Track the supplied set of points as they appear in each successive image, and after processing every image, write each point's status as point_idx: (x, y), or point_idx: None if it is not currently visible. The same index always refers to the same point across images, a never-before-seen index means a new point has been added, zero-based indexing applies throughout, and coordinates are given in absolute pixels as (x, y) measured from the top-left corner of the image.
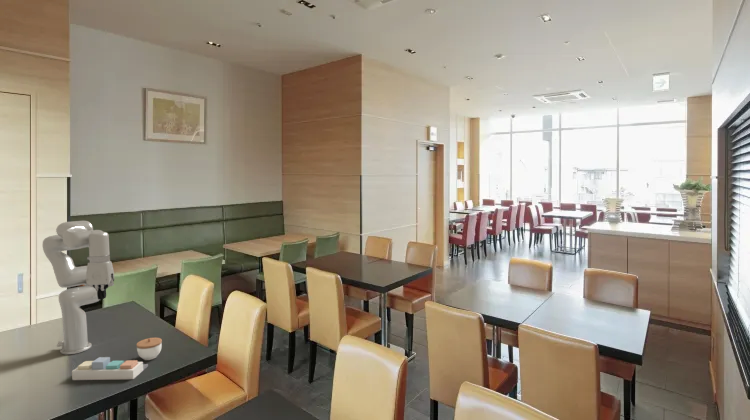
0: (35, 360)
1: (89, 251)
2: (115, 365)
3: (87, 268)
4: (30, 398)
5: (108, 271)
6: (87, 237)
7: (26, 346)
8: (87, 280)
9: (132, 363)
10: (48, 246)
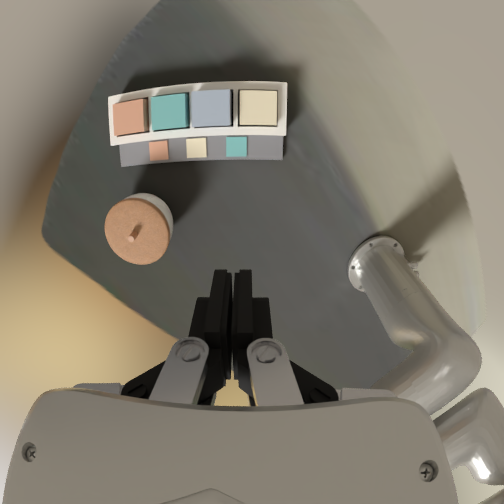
0: (431, 211)
1: None
2: (156, 97)
3: None
4: (323, 14)
5: None
6: None
7: (461, 275)
8: (427, 455)
9: (116, 115)
10: None
